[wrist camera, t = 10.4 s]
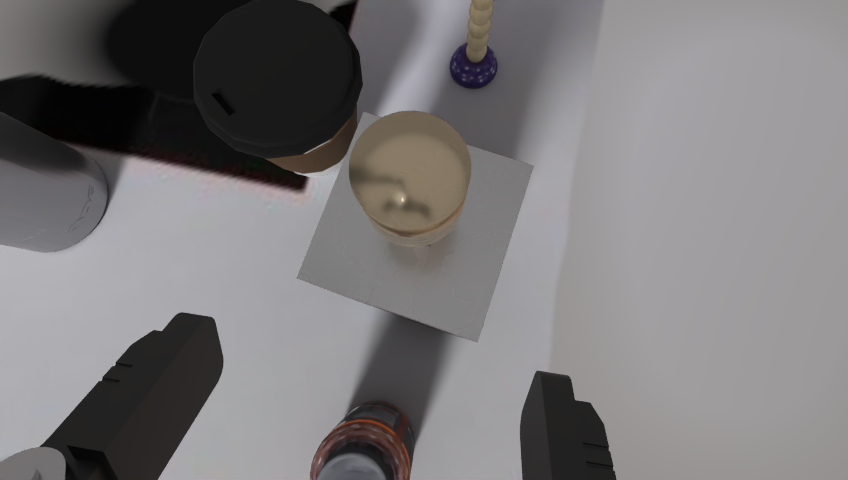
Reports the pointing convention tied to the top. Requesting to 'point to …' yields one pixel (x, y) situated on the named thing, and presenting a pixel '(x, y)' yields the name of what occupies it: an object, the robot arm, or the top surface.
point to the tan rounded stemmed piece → (411, 177)
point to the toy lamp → (475, 49)
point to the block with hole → (422, 249)
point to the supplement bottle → (367, 446)
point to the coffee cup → (281, 84)
